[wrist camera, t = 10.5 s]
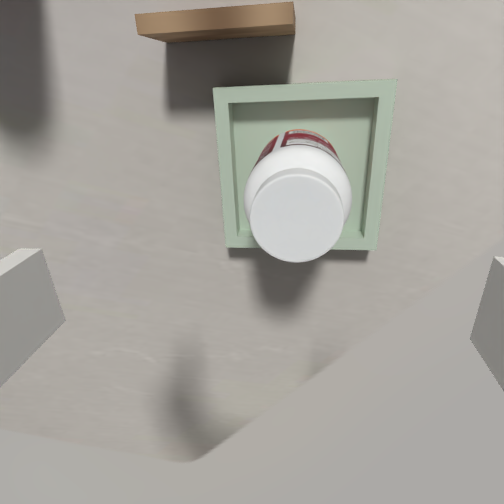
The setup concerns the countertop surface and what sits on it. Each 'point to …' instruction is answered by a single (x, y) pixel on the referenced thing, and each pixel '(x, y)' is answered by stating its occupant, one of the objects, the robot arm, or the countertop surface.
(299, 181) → the pill bottle
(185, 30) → the rack
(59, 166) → the countertop surface
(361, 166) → the tray
